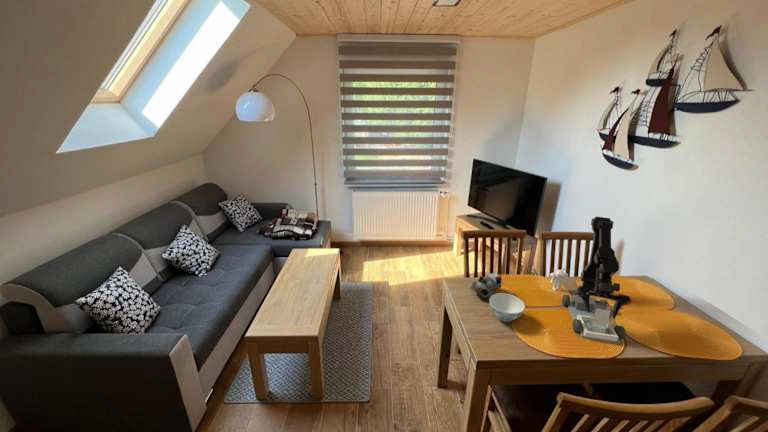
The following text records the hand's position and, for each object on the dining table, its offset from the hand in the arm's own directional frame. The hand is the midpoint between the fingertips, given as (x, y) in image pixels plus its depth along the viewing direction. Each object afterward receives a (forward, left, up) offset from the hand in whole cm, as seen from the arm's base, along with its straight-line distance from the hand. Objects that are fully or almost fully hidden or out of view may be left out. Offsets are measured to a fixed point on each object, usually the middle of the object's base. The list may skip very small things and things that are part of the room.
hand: (600, 315), depth 137 cm
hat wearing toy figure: (-32, -9, -9) cm, 35 cm away
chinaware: (-1, -37, -9) cm, 38 cm away
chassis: (-9, 0, -9) cm, 13 cm away
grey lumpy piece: (-19, -45, -9) cm, 50 cm away
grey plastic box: (-1, 0, -8) cm, 8 cm away
